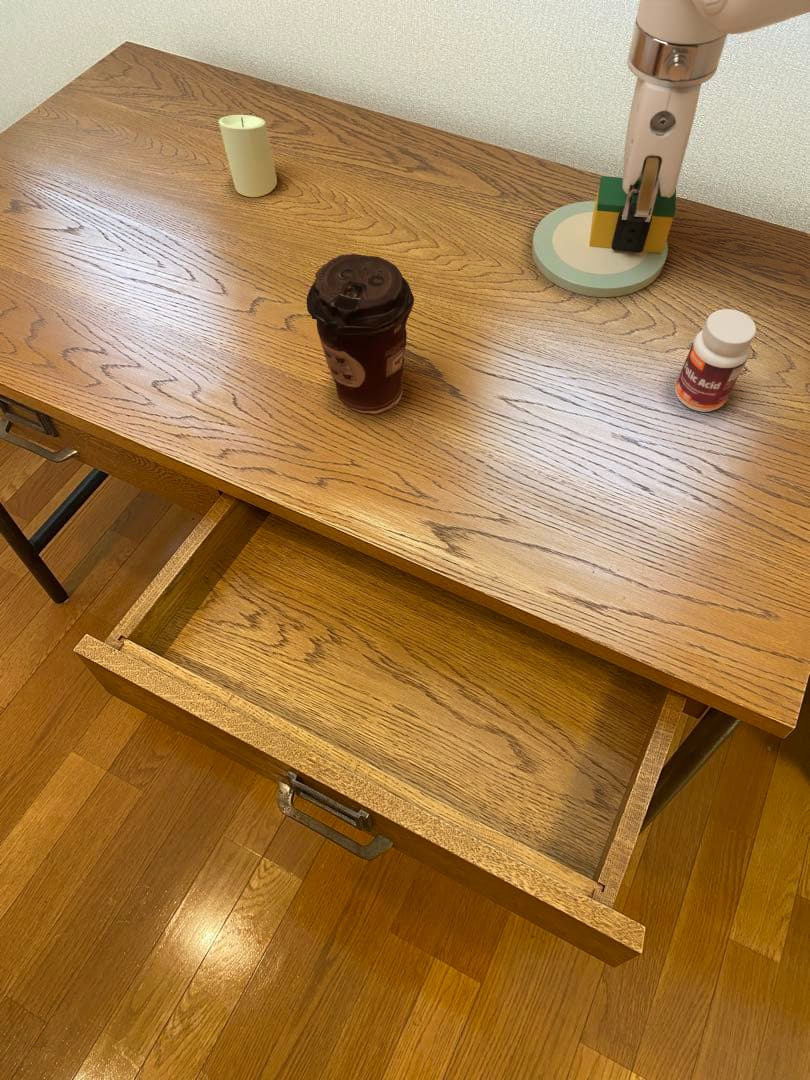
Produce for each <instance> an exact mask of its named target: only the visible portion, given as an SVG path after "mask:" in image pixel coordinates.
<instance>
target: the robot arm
mask: <svg viewBox="0 0 810 1080" xmlns="http://www.w3.org/2000/svg"><path fill="white" fill-rule="evenodd" d="M808 13H810V0H639V3H638V8H637V12H636V18H635V22H634V27H633V31H632V37H631V41H630V45H629V49H628V50H629V51H628V55H627V60H626V62H627V67H628V69H629V70H630V72H631V73H632V75H634V76H635V77H637V78H636V82H635V87H634V91H633V95H632V100H631V105H630V111H629V116H628V121H627V127H626V133H625V134H626V135H625V142H624V151H623V153H624V154H623V168H622V169H623V170H622V178H623V183H622V189H623V190H624V192H625V193H626V198H625V203H624V207H623V212H622V213H619V216H618V220H617V224H616V228H615V232H614V237H613V241H612V249H613V250H617V251H627V252H637V253H640V252H642V251H643V249H644V245H645V242H646V238H647V235H648V231H649V228H650V224H651V221H652V213H653V209H654V204H655V200H656V196H657V193H658V188H659V187H660V193H661V197H667V198H670V197H671V196H672V195H673V194H674V193H675V189H676V190H677V184H678V182H679V177H680V173H681V170H682V165H683V162H684V159H685V155H686V152H687V151H686V150H687V148H688V145H689V139H690V136H691V132H692V128H693V124H694V120H695V116H696V111H697V107H698V102H699V98H700V93H701V88H702V84H705V83H706V82H708V81H710V80H711V79H712V78H713V77H714V75H715V74H716V72H717V70H718V67H719V63H720V60H721V57H722V54H723V51H724V48H725V44H726V41H727V37H728V35H740V34H744V33H750V32H753V31H756V30H760V29H763V28H766V27H769V26H772V25H775V24H779V23H782V22H785V21H787V20H788V21H789V20H790V19H792V18H796V17H799V16H803V15H806V14H808ZM636 181H641V182H640V185H639V184H635V183H636ZM633 195H638V198H637V202H636V203H632V204H631V201H632V196H633ZM630 205H631V206H630Z"/></svg>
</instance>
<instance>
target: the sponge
mask: <svg viewBox="0 0 810 1080" xmlns="http://www.w3.org/2000/svg"><path fill="white" fill-rule="evenodd" d="M640 182H641V181H636V183H635V184H639V185H640ZM622 183H623V177H618V176H607V175H601V176H600V179H599V184H598V189H597V193H596V198H595V201H596V202H595V207H594V212H593V217H592V224H591V233H590V243H589V246H594V247H604V248H612V241H613V237H614V232H615V228H616V224H617V220H618V216H619V213H622V212H623V207H624V203H625V198H626V193H625V192H624V190H623V189H622ZM637 198H638V195H633V196H632V201H631V204H632V203H636V202H637ZM630 206H631V205H630ZM676 207H677V188H676V189H675V193H674V194H673V195H672V196H671V197H670V198H667V197H661V193H660V187H659V188H658V193H657V196H656V200H655V204H654V209H653V213H652V221H651V224H650V228H649V231H648V235H647V238H646V242H645V245H644V249H643V251H644V252H654V253H662V252H663V249H664V246H665V243H666V240H667V239H668V236H669V234H670V231H671V227H672V224H673V221H674V217H675V215H676V211H677V210H676V209H677V208H676Z"/></svg>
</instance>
